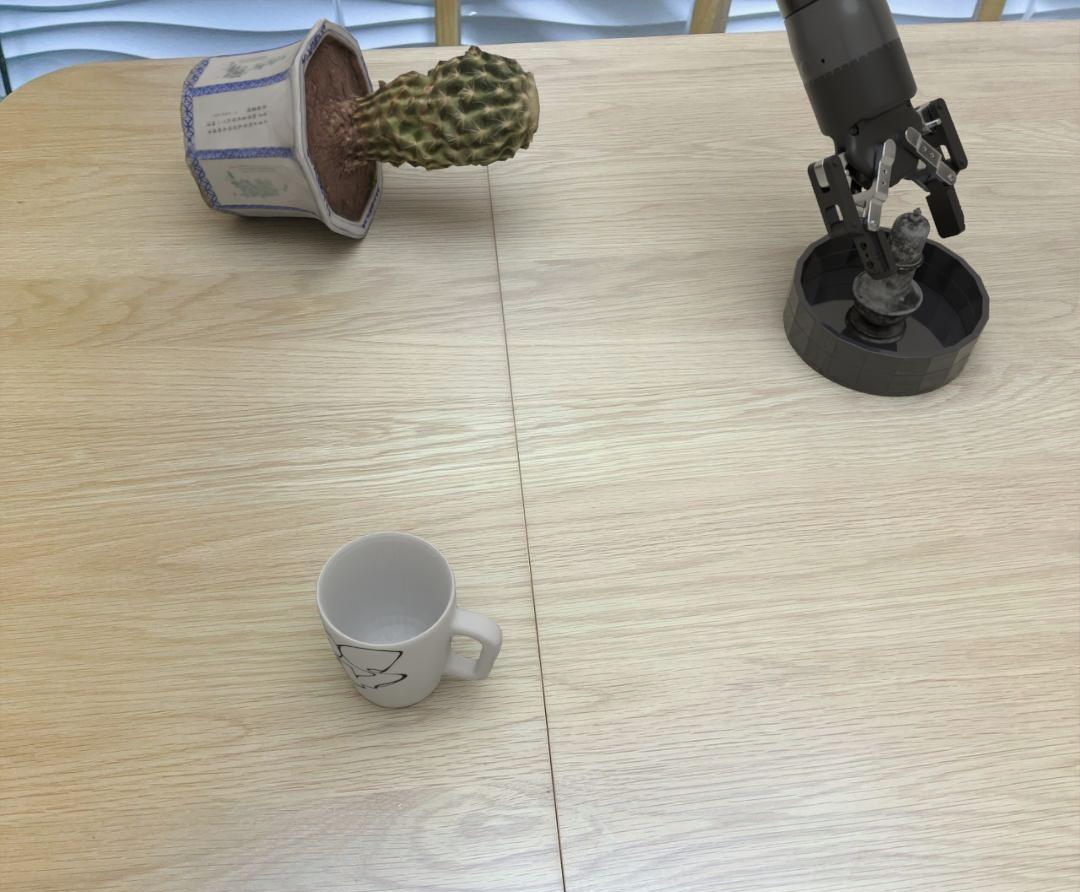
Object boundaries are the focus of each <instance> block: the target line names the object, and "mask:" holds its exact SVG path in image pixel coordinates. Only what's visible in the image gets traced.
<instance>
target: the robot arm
mask: <svg viewBox="0 0 1080 892" xmlns="http://www.w3.org/2000/svg"><path fill="white" fill-rule="evenodd" d="M775 2H776V5H777V8H778V10H779V13H780V15H781V18H782V20H783V24H784V27H785V31H786V35H787V39H788V46H789V48H790V51H791V55H792V58H793V61H794V63H795V65H796V68H797V71H798V73H799V74H798V75H799V76H800V77H799V78H800V79H801V81H802V85H803V88H804V90H805V93H806V95H807V98H808V100H809V103H810V106H811V109H812V111H813V115H814V117H815V119H816V122H817V126H818V128H819V131H820V133H821V134H822V135H823V136H824V137H829V138H830V139H831V140H832V142H833V145H834V154H832V155H829V156H826V157H824V158H821V159H819V160H817V161H814V162H811V163H810V164H808V166H807V171H806V172H807V175H808V178H809V181H810V184H811V187H812V190H813V194H814V196H815V200H816V202H817V206H818V208H819V212H820V215H821V218H822V222H823V224H824V227H825V230H826V233H827V234H828V235H829V237H830V238H832V239H836V238H840V237H850V238H852V239H853V240H854V242H855V244H856V247H857V250H858V252H859V255H860V258H861V259H862V263H863V264H864V265H863V266H864V268H865V271H866V272H867V274H868V275H869V276H871V278H872V279H873V280H881V279H885V278H889V277H891V276H892V275H894V274H896V273H897V266H896V263H895V260H894V258H893V255H892V252H891V249H890V247H889V244H888V241H887V238H886V236H885V233H884V230H883V228H882V229H879V227H881V226H880V225H881V217H882V209H883V204H884V203H885V202H886V201H887V199H888V197H889V191H890V188H892V187H894V186H896V185H898V184H899V183H900V182H901V180H905V181H911V182H913V183H914V184H915V185H916V186H918V187H919V188H920V189H922V190H923V191H924V192H926V193H928V195H926V196H925V200H926V203H927V206H928V209H929V213H930V215H931V217H932V220H933V223H934V226H935V229H936V231H937V235H938V236H939V238H941V239H948V238H951V237H952V238H953V237H957V236H959V235H960V234H962V233H963V232H965V230H966V223H965V215H964V211H963V209H962V205H961V202H960V200H959V197H958V194H957V191H956V187H955V184H956V183H957V177H958V175H959V173H960V172H961V171H964V170H967V168H968V165H969V160H968V157H967V155H966V152H965V149H964V147H963V144H962V142H961V139H960V137H959V133H958V131H957V129H956V126H955V124H954V123H955V122H954V121H953V118H952V116H951V113H950V111H949V108H948V105H947V103H946V100H945V99H944V98H942V97H938V98H936V99H932V100H929V101H927V102H925V103H922V104H921V105H918V106H916V107H914V106H913V103H912V102H911V99H913V98H914V97H915V96H916V94H917V92H918V86H917V83H916V80H915V77H914V75H913V71H912V69H911V66H910V63H909V60H908V57H907V54H906V52H905V48H904V46H903V43H902V40H901V37H900V33H899V30H898V28H897V25H896V22H895V20H894V17H893V14H892V11H891V8H890V4H889V2H888V0H775ZM942 146H944V147H945V148H946V151H947V154H948V156H949V158H946V157H945V154H944V152H943V150H942ZM863 189H864V191H863ZM837 207H838V208H839V212H840V215H839V212H838V210H837V209H838V208H837ZM840 216H841V218H842V219H841V218H840Z"/></svg>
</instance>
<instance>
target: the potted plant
mask: <svg viewBox="0 0 1080 892" xmlns="http://www.w3.org/2000/svg"><path fill="white" fill-rule="evenodd" d="M377 81H378V88H377V89H376V90H375V91H374V87H373V83H372V81H371V77H370V74H369V71H368V67H367V64H366V62H365V58H364V55H363V52H362V50H361V46H360V44H359V41H358V40H357V39H356V38H355V37H354V35H353V34H352V33H351V32H349V31H348V30H347V28H345V27H343V26H342V25H340V24H338V23H336V22H333V21H330V20H329V19H328V18H326V17H325V18H319V19H318V20H317V21H316V22H315V23H314V25H313V26H312V27H311V28H310V29H309V31H308V32H307V33H306V34H305V36H304V37H303V38H301V39H299V40H297V41H294V42H292V43H288V44H285V45H281V46H278V47H273V48H268V49H260V50H255V51H251V52H242V53H241V52H240V53H233V54H221V55H215V56H209V57H205V58H203V59H201V60H199V61H198V62H197V63H195V64H194V65H193V66H192V67H191V69H190V71H189V73H188V74H187V76H186V77H185V79H184V81H183V85H182V88H181V92H180V106H179V107H180V108H179V111H180V113H179V114H180V124H181V129H182V133H183V141H182V143H183V148H184V153H185V155H184V163H185V165H186V167H187V169H188V171H189V173H190V176H192V178H193V180H194V181H195V183H196V186H197V188H198V190H199V191H198V192H199V193H200V196H201V199H202V200H203V202H204V203H205V204H206V206H207V207H208V208H209V209H210V211H213V212H217V213H222V214H225V215H229V216H230V215H231V216H236V217H260V218H261V217H263V218H264V217H265V218H272V217H274V218H276V217H277V218H278V217H288V218H290V217H294V218H312V219H317V220H319V221H321V222H322V223H323V224H324V225H325V226H326V227H327V228H329V229H330V230H331V231H332V232H334V233H337V234H340V235H343V236H345V237H350V238H352V239H358V240H359V239H362V238H364V237H365V236H366V235H367V233H368V230H369V228H370V225H371V222H372V221H373V220H374V216H375V215H374V214H375V211H376V210H378V207H379V204H380V199H381V195H382V191H383V179H384V178H383V177H384V176H383V164H386V163H389V164H390V165H391V166H392V167H394V168H398V169H399V168H400V167H401V166H402V165H404V164H405V163H407V164H409V165H410V166H412V168H414V169H415V168H418V167H422V168H424V169H425V170H426V172H431V171H438V170H445V169H449V168H450V167H452V166H455V167H467V166H470V165H471V166H475V167H477V166H479V165H480V166H481V167H488V166H489V165H491V164H494V163H496V162H506V161H507V160H509V159H514V158H515V156H516V153H517V151H518V150H520V149H521V150H525V151H527V150H528V149H529V148H530V144H531V143H533V142H534V135H535V134H536V133H537V132H538V129H539V122H540V112H541V107H540V104H541V103H540V97H539V91H538V86H537V83H536V79H535V74H534V72H532V71H528V72H525V70H524V69H523V67H522V65H521V64H520V63H519V62H518V61H517V59H516V58H511V57H506V56H503V55H501V54H500V55H499V54H495V53H490V52H487V51H483V50H482V49H481V48H480V47H479V46H476V45H473V44H471V45H470V46H469V48H468V50H466V51H464V55H456V56H454V57H451V58H450V59H448V60H439V61H438V62H437V63H436V65H435V67H433V68H430V69H429V70H427V75H425V74H423V73H421V72H418V71H416V70H411V71H408V72H405V73H401V74H399V75H398V76H397V77H396V78H394V79H393V80H391V81H390V82H388V83H387V82H386V81H385V80H383V79H380V80H377Z"/></svg>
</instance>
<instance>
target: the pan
mask: <svg viewBox="0 0 1080 892" xmlns="http://www.w3.org/2000/svg"><path fill="white" fill-rule="evenodd" d="M882 228H883V230H884V233H885V236H886V238H887V240H888V237H889V235H890V232H891V229H892V227H886V226H879V229H882ZM922 253H923V256H924V261H923V263H922V265H921V266H919V267H918V268H916V270H915V273H914V275H913V278H912V279H913V280H914V281H915V282H916V283H917V284H918V285H919V287H920V288H921V291H922V294H923V300H922V303H921V305H920V307H919V308H918V309H917V310H915V311H914V312H913V313H912V314H911V315H910V316H909V317H908V318H907V319H905V320H906V323H907V330H906V332H905V334H904V336H903V337H902V338H901V339H900V340H898V341H896V342H893V343H889V344H876V343H870V342H867V341H865V340H862V339H861V338H859V337H857V336H856V335H854V334H853V333H852V332H851V331H850V330H849V328H848V327H847V324H846V321H845V317H846V313H847V311H848V309H849V308H850V307H851V306H852V305H854V298H853V296H854V293H853V290H852V286H853V281H854V280H855V278H856V276H858V275H859V274H860V273H861V272H864V271H865V268H864V266H863V265H864V264H863V263H862V259H861V258H860V255H859V252H858V250H857V247H856V244H855V242H854V240H853V239H852V238H850V237H840V238H836V239H832V238H830V237H829V235H828V233H827V234H825V235H823V236H821V237H820V238H818V239H816V240H815V241H813V242H811V243H809V245H808V246H807V247H806V248H805V250H803V252H802V253H801V255H800V256H799V257H798V258H797V260H796V262H795V266H794V269H793V272H792V277H791V280H790V284H789V287H788V290H787V294H786V299H785V303H784V308H783V313H782V315H783V316H782V320H783V328H784V331H785V334H786V337H787V339H788V341H789V343H790V345H791V347H792V348H793V350H794V351H795V352H796V354H797V355H798V356H799V357H800V358H801V359H802V360H803V361H804V363H806V364H807V365H808V366H810V367H811V368H812V369H813V370H814V371H815V372H817V373H819V374H820V375H821V376H823V377H824V378H827V379H828V380H831V381H832V382H834V383H836V384H839V385H840V386H842V387H845V388H849V389H851V390H854V391H857V392H862V393H865V394H869V395H875V396H882V397H910V396H911V397H912V396H916V395H917V396H918V395H922V394H923V395H924V394H926V393H930V392H933V391H936V390H937V389H941V388H943V387H944V386H946V385H948V384H949V383H952V381H953V380H955V378H956V377H959V375H960V374H961V373H962V371H963V370H964V369H965V367H966V365H967V364H968V362H969V360H970V358H971V357H972V354H973V353H974V351H975V348H976V346H977V344H978V343H979V340H980V338H981V336H982V334H983V333H984V330H985V328H986V326H987V324H988V322H989V319H990V305H991V304H990V302H991V301H990V295H989V293H988V291H987V288H986V286H985V284H984V282H983V280H982V278H981V276H980V275H979V273H977V272H976V270H975V269H974V268H973V267H972V265H970V264H969V263H968V262H967V260H966V259H964V257H962V256H961V255H959V254H957V253H956V252H954V251H953V250H951V249H950V248H948V247H947V246H945V245H943V244H942V243H941V242H938V241H935V240H933V239H931V238H929V237H927V240H926V242H925V245H924V248H923V250H922Z"/></svg>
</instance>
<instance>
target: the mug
mask: <svg viewBox="0 0 1080 892" xmlns="http://www.w3.org/2000/svg"><path fill="white" fill-rule="evenodd" d="M456 583H457V582H456V577H455V574H454V571H453V568H452V566H451V564H450V562H449V561H448V559H447V557H446V556H445V554H444V553H442V552H441V550H440V549H438V548H437V547H436V546H435V545H433V544H432V543H431V542H429V541H427V540H426V539H423V538H422V537H419V536H416V535H414V534H411V533H407V532H400V531H378V532H373V533H369V534H365V535H362V536H358V537H357V538H354V539H353V540H350V541H349V542H347V543H345V544H343V545H342V546H341V547H339V548H338V549H337V550H336V551H335V552H334V553H333V554H332V555H331V556H330V557H329V559H328V560H327V561H326V562H325V564H324V566H323V567H322V569H321V571H320V573H319V575H318V579H317V582H316V585H315V603H316V608H317V612H318V615H319V618H320V621H321V623H322V626H323V629H324V632H325V634H326V636H327V639H328V642H329V644H330V647H331V649H332V651H333V654H334V656H335V658H336V659H337V661H338V663H339V665H340V666H341V668H342V669H343V671H344V672H345V674H346V675H347V677H348V679H349V680H350V682H351V683H352V685H353V686H354V687H355V689H356V691H358V692H359V694H360V695H361V696H362V697H364V699H366V700H367V701H369V702H371V703H373V704H375V705H377V706H380V707H386V708H404V707H409V706H412V705H414V704H417V703H419V702H421V701H423V700H424V699H425V698H428V696H430V695H431V693H432V692H434V690H435V689H436V688H437V686H438V685H439V683H440V681H441V679H442V677H443V676H444V675H448V676H451V677H455V678H458V679H463V680H468V681H482V680H485V679H486V678H488V677H489V675H490V674H491V673H492V670H493V667H494V664H495V662H496V660H497V658H498V657H499V654H500V652H501V649H502V645H503V631H502V628H501V626H500V625H499V624H498V623H497V622H496V621H495V620H494V619H492V618H490V617H488V616H486V615H484V614H481V613H478V612H474V611H471V610H467V609H463V608H460V607H459V606H458V603H457V585H456ZM454 636H461V637H467V638H470V639H473V640H474V641H476V642H478V643H479V644H480V645H481V647H482V648H481V650H480V654H479V656H478V658H469V657H465V656H462V655H461V654H458V653H456V652H455V651H454V649H453V647H452V642H453V638H454Z"/></svg>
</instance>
